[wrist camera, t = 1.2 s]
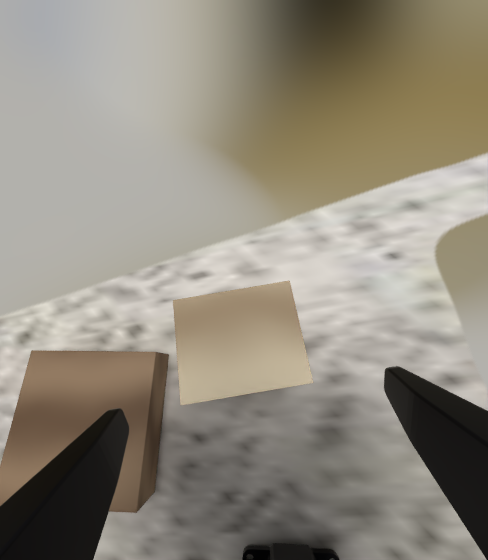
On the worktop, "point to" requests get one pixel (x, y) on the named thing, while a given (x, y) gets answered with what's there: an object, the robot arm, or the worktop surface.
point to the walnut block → (87, 415)
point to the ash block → (239, 343)
